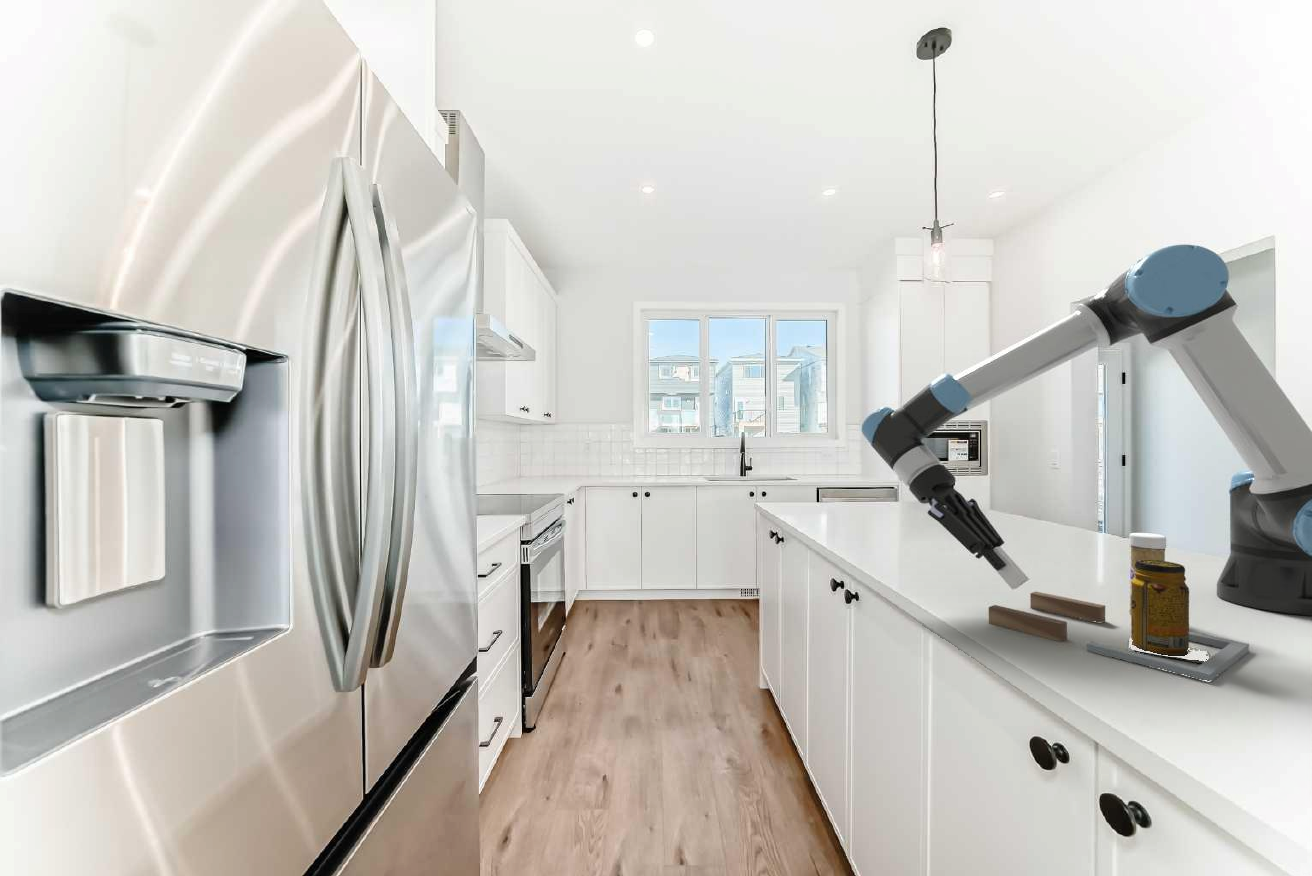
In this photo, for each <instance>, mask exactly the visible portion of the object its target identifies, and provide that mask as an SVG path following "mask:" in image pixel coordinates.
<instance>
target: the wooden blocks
mask: <svg viewBox="0 0 1312 876" xmlns="http://www.w3.org/2000/svg"><path fill="white" fill-rule="evenodd" d="M1029 598H1030V605H1029V606H1030V609H1034V610H1038V609H1039V611H1042V610H1043V611H1042V612H1047V611H1048V613H1051V612H1052V613H1051V614H1055V613H1056V614H1057V615H1060V616H1064V615H1066V616H1065V617H1069V616H1071V617H1070V618H1073V617H1076V618H1075V619H1077V618H1081V619H1080V620H1082V619H1084V620H1083V621H1086V620H1088V621H1087V622H1091V621H1096V622H1102V621H1105V622H1106V605H1105V604H1099V603H1094V602H1091V601H1090V602H1089V601H1084V600H1079V599H1074V598H1070V597H1066V596H1065V597H1064V596H1060V595H1055V594H1050V593H1045V592H1041V591H1033V592H1030V597H1029ZM988 624H991V625H996V626H999V627H1003V628H1007V629H1011V630H1015V631H1019V632H1023V633H1027V634H1030V635H1032V636H1033V635H1034V636H1038V637H1041V638H1046V639H1049V640H1054V641H1058V642H1060V643H1061V642H1063V641H1066V640H1067V639H1068V621H1065V620H1060V619H1057V618H1052V617H1050V616H1049V617H1048V616H1043V615H1039V614H1036V613H1032V612H1027V611H1023V610H1019V609H1014V608H1010V607H1006V606H1001V605H996V604H995V605H991V606H988Z"/></svg>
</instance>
